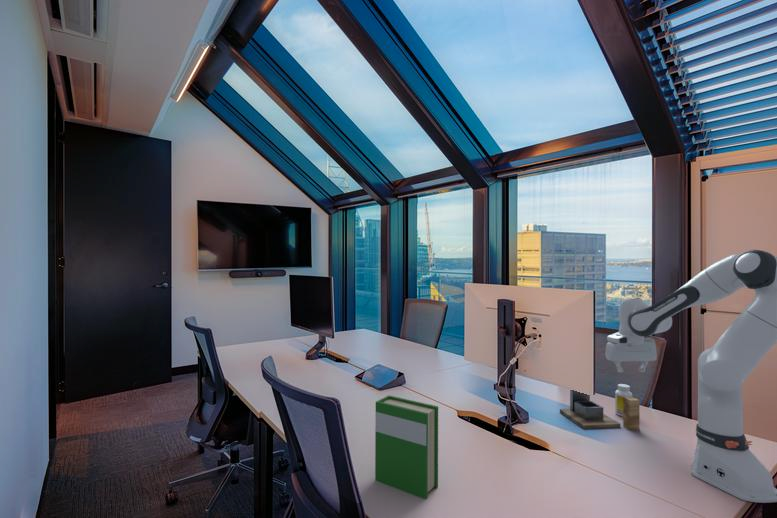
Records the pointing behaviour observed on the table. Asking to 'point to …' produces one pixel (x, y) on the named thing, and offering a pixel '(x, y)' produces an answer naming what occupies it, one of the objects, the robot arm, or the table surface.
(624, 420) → the oak rail end
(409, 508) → the table surface
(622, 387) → the supplement bottle
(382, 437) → the hardback book
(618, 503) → the table surface
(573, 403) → the grey open holder
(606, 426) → the walnut base board
